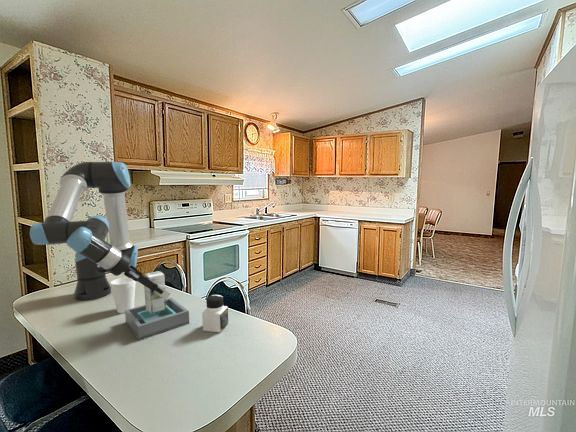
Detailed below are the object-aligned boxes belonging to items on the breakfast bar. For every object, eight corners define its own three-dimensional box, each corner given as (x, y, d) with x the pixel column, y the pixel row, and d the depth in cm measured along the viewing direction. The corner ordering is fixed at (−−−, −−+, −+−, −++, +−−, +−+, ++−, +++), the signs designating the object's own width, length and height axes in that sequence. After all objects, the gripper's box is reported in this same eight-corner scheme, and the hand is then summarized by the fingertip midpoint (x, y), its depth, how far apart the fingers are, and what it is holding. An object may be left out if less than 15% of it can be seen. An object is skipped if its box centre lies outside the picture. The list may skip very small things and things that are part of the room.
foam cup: (115, 316, 122) (112, 286, 120) (110, 309, 129) (108, 280, 127) (140, 310, 128) (138, 280, 127) (134, 303, 135) (132, 275, 134)
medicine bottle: (221, 333, 108) (219, 301, 106) (202, 331, 109) (201, 299, 108) (228, 323, 115) (227, 293, 113) (211, 322, 116) (210, 292, 115)
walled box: (125, 322, 117) (124, 310, 116) (171, 308, 129) (171, 297, 128) (139, 340, 104) (138, 326, 103) (189, 323, 115) (188, 311, 115)
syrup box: (160, 305, 119) (158, 270, 118) (166, 310, 115) (164, 273, 114) (145, 310, 115) (143, 273, 114) (151, 314, 111) (148, 276, 110)
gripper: (100, 264, 110) (150, 295, 123) (112, 276, 96) (167, 310, 109) (116, 248, 113) (163, 280, 126) (129, 257, 99) (180, 292, 112)
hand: (165, 294), depth 117 cm, fingers closed on syrup box, 6 cm apart
